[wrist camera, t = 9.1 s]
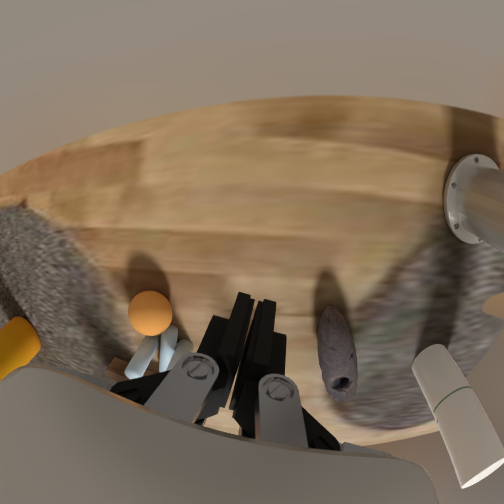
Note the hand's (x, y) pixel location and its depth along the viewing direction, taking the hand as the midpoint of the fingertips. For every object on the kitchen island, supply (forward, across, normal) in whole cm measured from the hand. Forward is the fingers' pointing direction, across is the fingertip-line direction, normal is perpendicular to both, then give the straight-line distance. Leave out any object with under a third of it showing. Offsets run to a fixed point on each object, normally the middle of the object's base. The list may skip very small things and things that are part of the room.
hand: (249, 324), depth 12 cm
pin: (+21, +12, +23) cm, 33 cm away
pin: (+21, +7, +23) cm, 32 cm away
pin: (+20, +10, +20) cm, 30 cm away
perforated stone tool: (+22, -13, +16) cm, 30 cm away
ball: (+18, +12, +16) cm, 27 cm away
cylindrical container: (+23, -33, +17) cm, 44 cm away
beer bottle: (+19, +44, +37) cm, 60 cm away
